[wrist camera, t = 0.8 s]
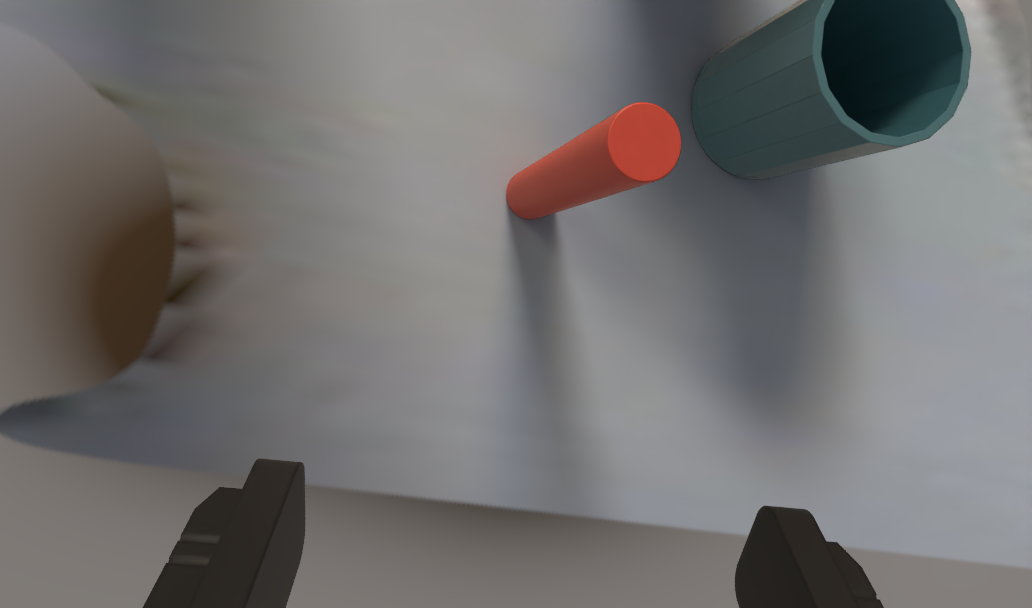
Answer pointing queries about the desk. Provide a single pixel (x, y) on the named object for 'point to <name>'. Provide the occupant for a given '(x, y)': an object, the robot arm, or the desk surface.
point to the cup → (831, 84)
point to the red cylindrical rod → (599, 162)
